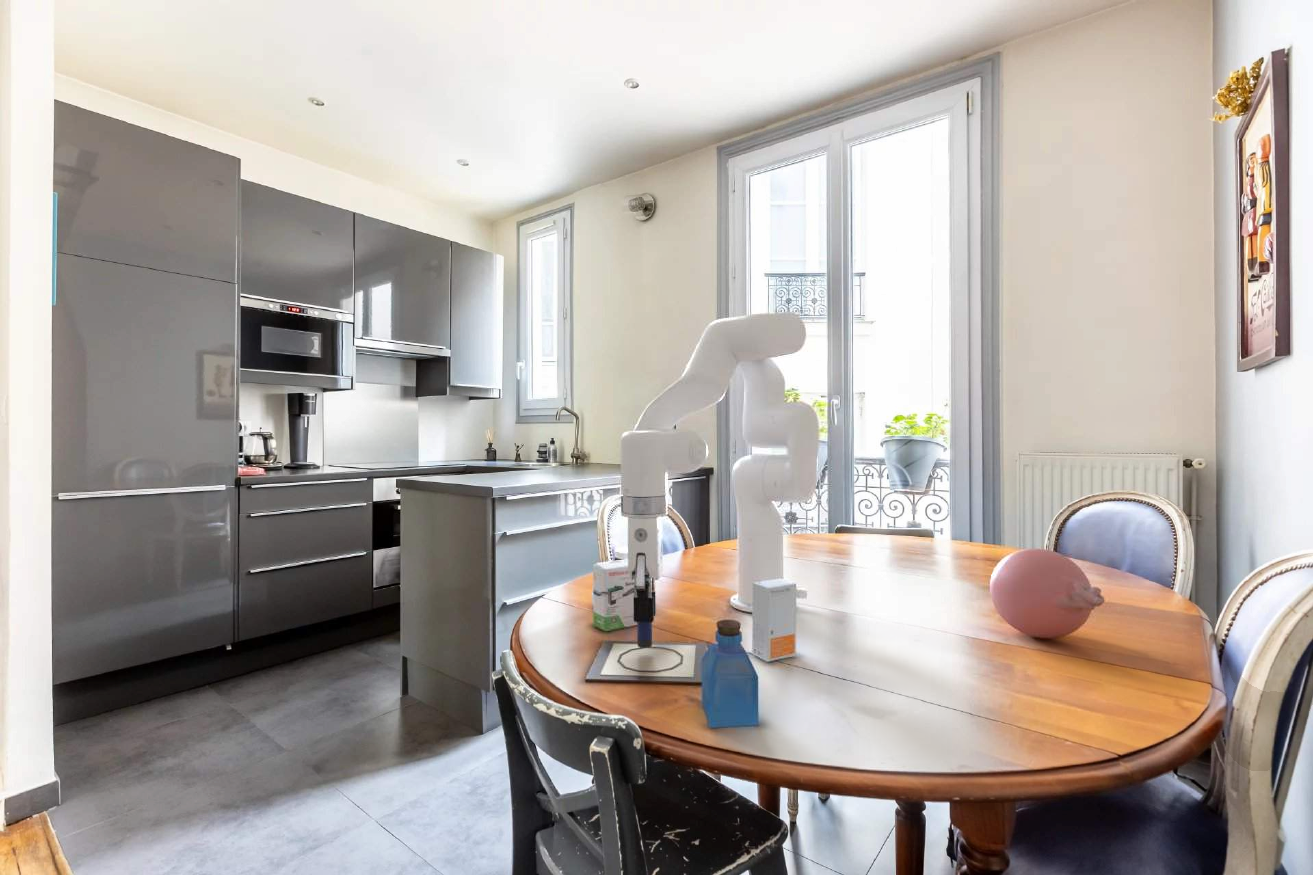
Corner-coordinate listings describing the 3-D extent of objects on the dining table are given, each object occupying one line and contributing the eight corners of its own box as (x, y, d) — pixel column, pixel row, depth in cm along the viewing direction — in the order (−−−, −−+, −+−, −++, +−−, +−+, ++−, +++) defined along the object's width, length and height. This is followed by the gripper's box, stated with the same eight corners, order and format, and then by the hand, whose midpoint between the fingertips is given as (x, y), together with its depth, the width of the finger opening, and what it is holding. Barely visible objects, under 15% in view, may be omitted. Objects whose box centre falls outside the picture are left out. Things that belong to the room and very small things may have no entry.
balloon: (1051, 665, 94) (1052, 566, 94) (971, 623, 114) (971, 542, 114) (1141, 660, 96) (1142, 563, 95) (1047, 620, 115) (1047, 539, 115)
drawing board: (707, 645, 104) (707, 641, 104) (706, 684, 88) (706, 680, 88) (604, 642, 106) (604, 639, 106) (585, 681, 90) (585, 677, 90)
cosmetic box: (767, 663, 96) (767, 588, 96) (751, 654, 100) (751, 582, 99) (797, 656, 99) (797, 583, 98) (780, 648, 102) (780, 577, 102)
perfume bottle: (702, 705, 82) (701, 616, 82) (747, 702, 82) (746, 615, 82) (709, 727, 76) (709, 632, 75) (758, 725, 76) (757, 630, 76)
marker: (652, 642, 100) (652, 582, 100) (651, 648, 97) (651, 586, 97) (638, 642, 100) (638, 582, 100) (636, 647, 98) (636, 586, 98)
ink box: (604, 632, 111) (604, 568, 111) (592, 625, 115) (591, 563, 115) (644, 623, 116) (643, 562, 116) (631, 616, 120) (630, 557, 120)
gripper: (663, 513, 90) (663, 635, 90) (670, 500, 106) (670, 604, 106) (613, 512, 91) (614, 634, 91) (628, 500, 107) (628, 604, 107)
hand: (644, 617), depth 99 cm, fingers closed on marker, 2 cm apart
